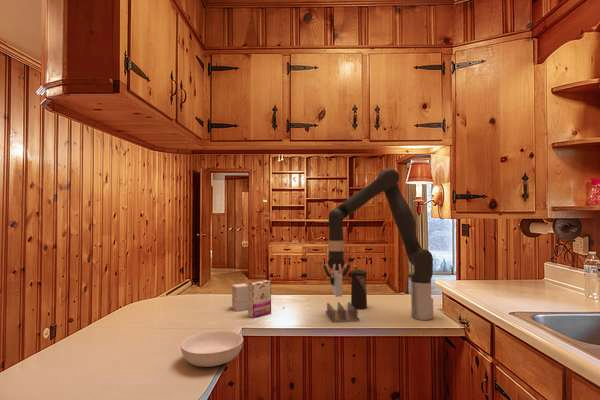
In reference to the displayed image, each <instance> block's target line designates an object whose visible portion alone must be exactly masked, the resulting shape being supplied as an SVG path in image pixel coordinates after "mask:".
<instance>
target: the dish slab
mask: <svg viewBox="0 0 600 400" xmlns="http://www.w3.org/2000/svg"><path fill="white" fill-rule="evenodd" d="M333 278H334V286H332V284H331V283H330V291H331V293H332V294H333V296H335V297H337V298H338V297H343V277H342V275H341V274H340V273H338V271H337V270H336V271H335V272H334V276H333Z"/></svg>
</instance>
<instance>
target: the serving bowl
mask: <svg viewBox="0 0 600 400" xmlns="http://www.w3.org/2000/svg"><path fill="white" fill-rule="evenodd" d="M243 343H244V337H243V335H241V334H240V333H239V332H236V331H232V330H220V329H219V330H208V331H203V332H199V333H195V334H193V335H190V336H188V337H187V338H185V339H183V341H182V342H181V343H180V350H181V354H182V356H183V358H184V359H185V361H186V362H188V363H190V364H191V365H193V366H196V367H203V368H204V367H207V368H208V367H215V366H217V367H218V366H220V365H224V364H226V363H229V362H230V361H232V360H234V359H235V358H237V356H238V355H239V353H240V352H241V350H242V348H243Z"/></svg>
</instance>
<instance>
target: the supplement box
mask: <svg viewBox="0 0 600 400" xmlns="http://www.w3.org/2000/svg"><path fill="white" fill-rule="evenodd" d="M231 309H233V310H234V311H235V310H236V312H241V311H248V283H247V284H246V283H236V284H232V285H231Z"/></svg>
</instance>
